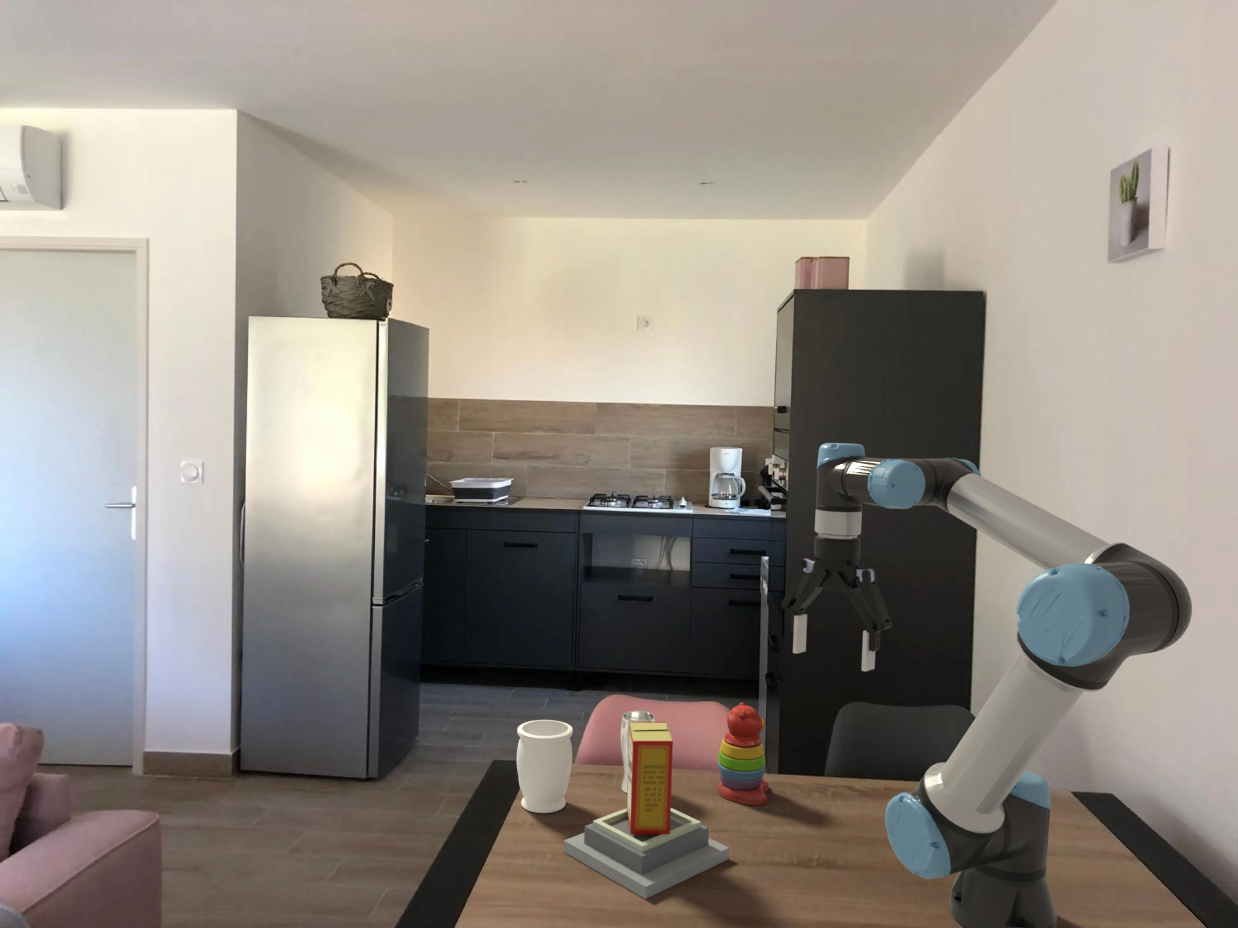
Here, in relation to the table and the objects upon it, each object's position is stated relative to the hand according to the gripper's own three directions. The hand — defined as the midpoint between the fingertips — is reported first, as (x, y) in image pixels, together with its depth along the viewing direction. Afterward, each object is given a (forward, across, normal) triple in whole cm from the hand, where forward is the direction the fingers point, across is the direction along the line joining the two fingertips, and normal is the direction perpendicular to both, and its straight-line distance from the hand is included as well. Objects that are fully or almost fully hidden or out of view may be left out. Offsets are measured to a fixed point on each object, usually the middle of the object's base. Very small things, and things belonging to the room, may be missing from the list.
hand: (832, 660), depth 155 cm
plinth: (+35, +21, +22) cm, 46 cm away
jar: (+35, +48, +23) cm, 64 cm away
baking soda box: (+29, +21, +22) cm, 42 cm away
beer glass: (+35, +42, +4) cm, 55 cm away
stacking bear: (+35, +27, -11) cm, 45 cm away
